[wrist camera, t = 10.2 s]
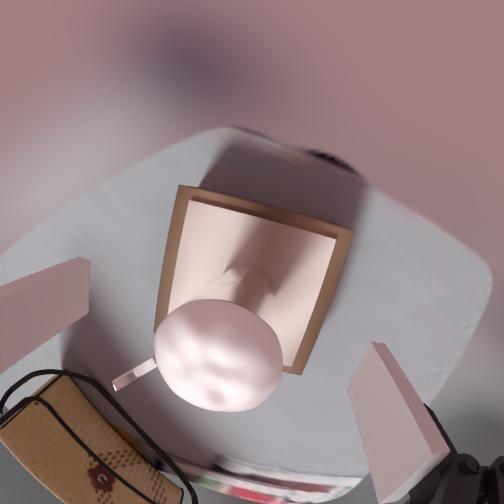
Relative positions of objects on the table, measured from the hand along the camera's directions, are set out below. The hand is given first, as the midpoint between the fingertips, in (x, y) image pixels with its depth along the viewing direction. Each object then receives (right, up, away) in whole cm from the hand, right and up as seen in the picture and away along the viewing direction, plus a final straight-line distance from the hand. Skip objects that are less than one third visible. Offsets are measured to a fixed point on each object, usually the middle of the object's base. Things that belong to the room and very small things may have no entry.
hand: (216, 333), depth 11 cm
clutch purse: (-14, -21, +16) cm, 30 cm away
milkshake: (+1, +1, +6) cm, 6 cm away
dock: (+1, +2, +10) cm, 10 cm away
